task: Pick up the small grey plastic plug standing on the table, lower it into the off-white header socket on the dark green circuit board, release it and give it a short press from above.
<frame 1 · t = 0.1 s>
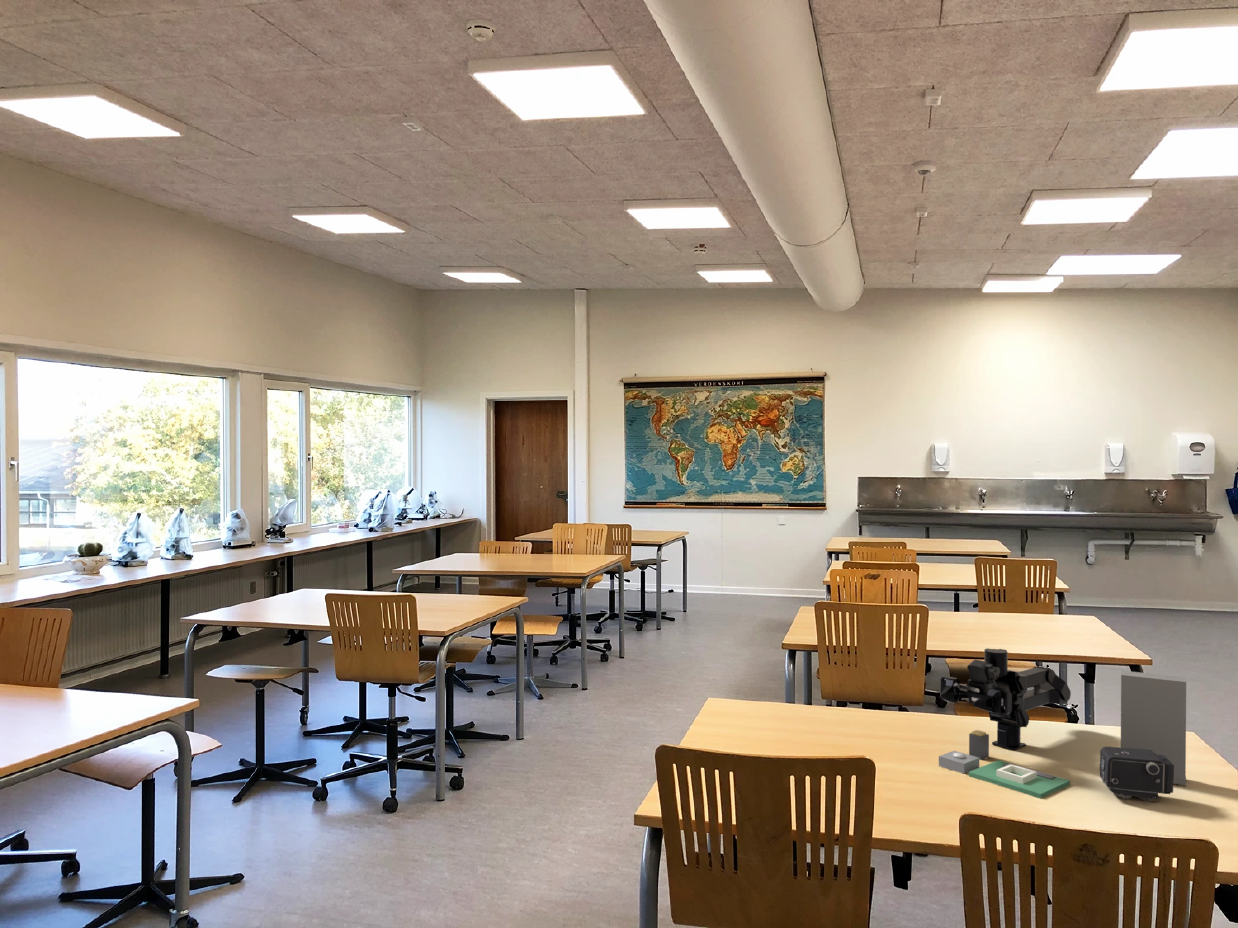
hand: (957, 700, 226), 17 cm above the table, fingers open, 9 cm apart
grey push button: (959, 766, 225), on the table
upright grey panel: (1152, 778, 218), on the table
plug: (978, 756, 233), on the table
camera: (1135, 798, 206), on the table
board: (1018, 780, 216), on the table
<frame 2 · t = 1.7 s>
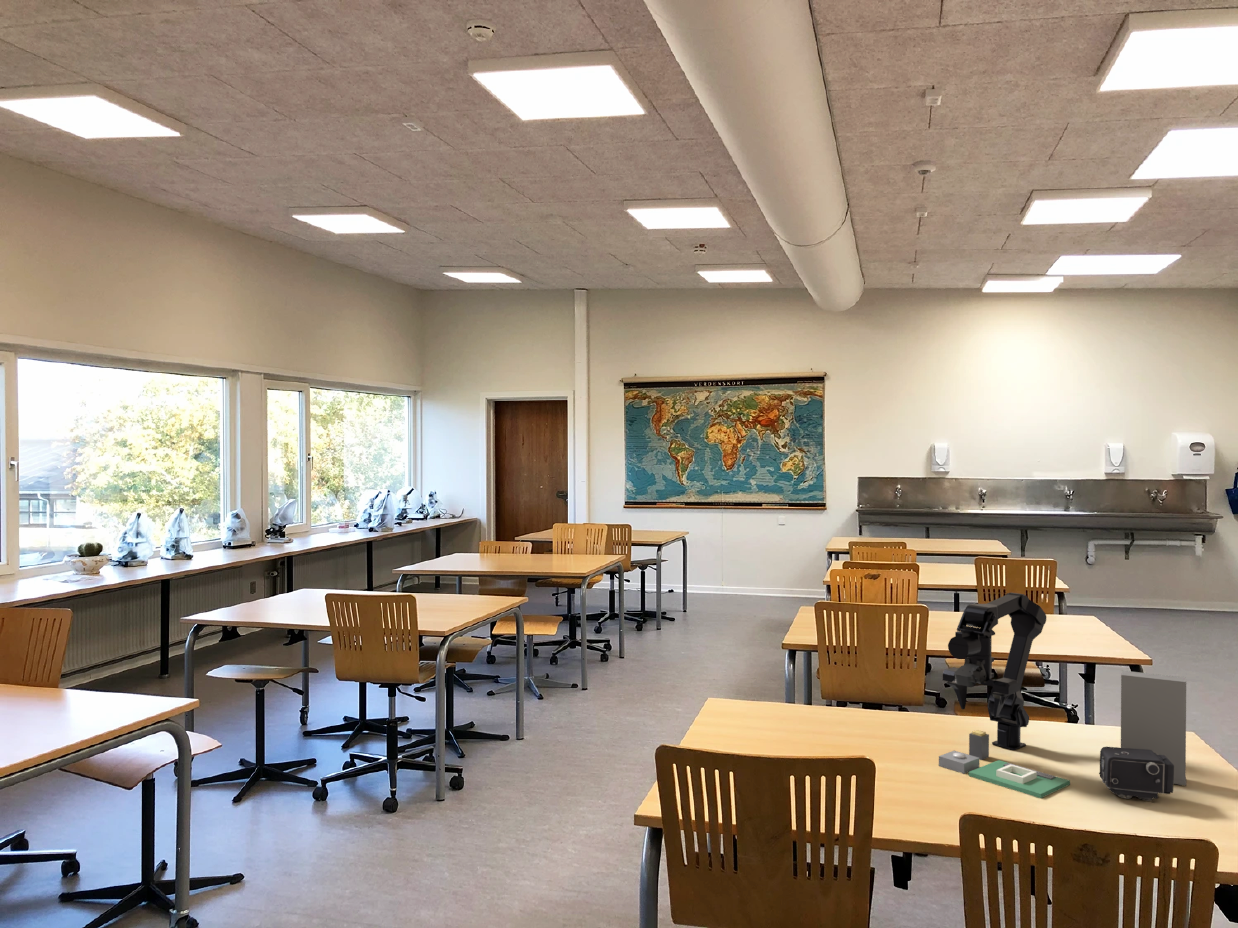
hand: (979, 713, 233), 11 cm above the table, fingers open, 9 cm apart
nothing on the table moved.
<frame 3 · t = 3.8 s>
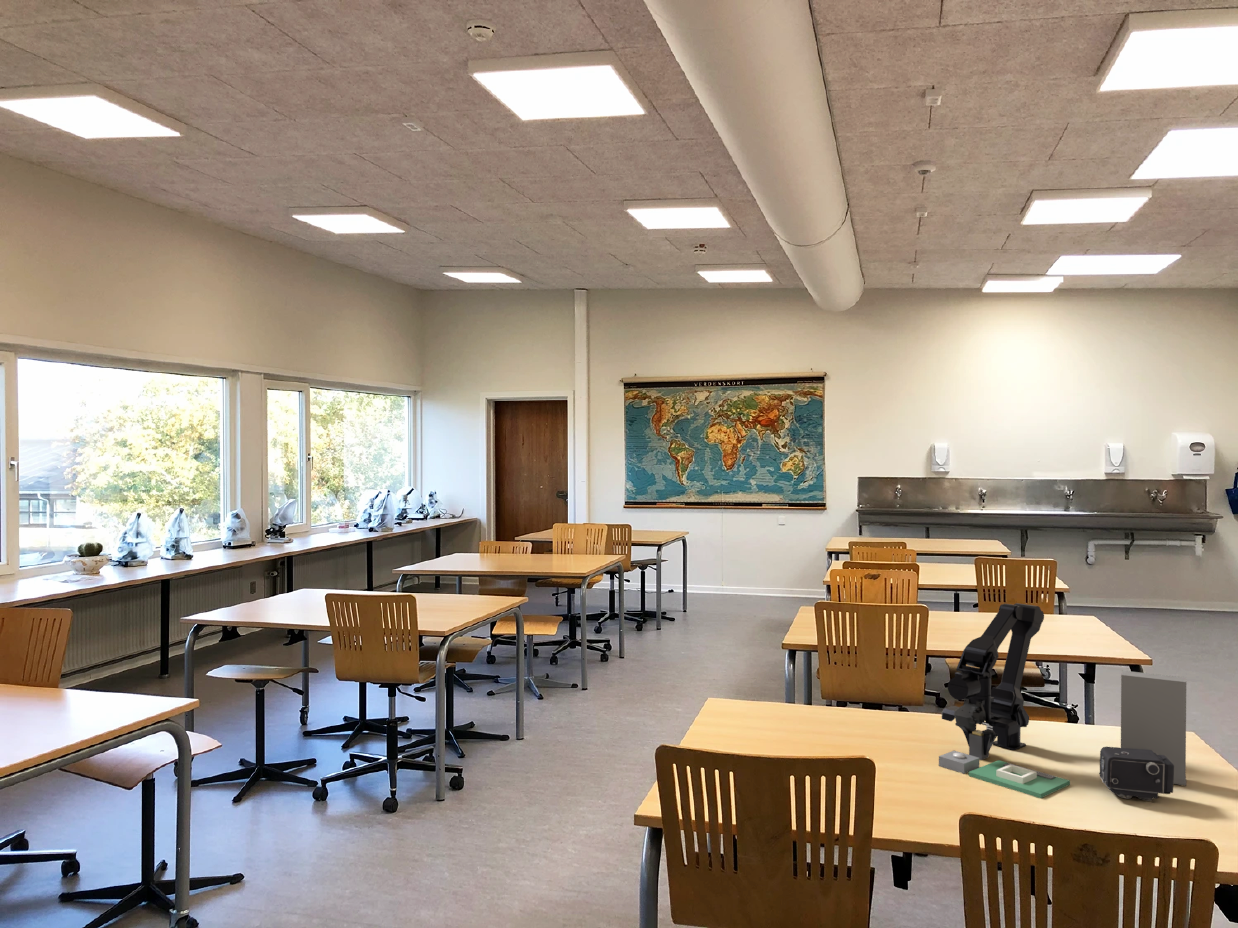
hand: (978, 752, 233), 1 cm above the table, fingers closed on plug, 3 cm apart
plug: (978, 756, 233), on the table, touching gripper
everything else where it was.
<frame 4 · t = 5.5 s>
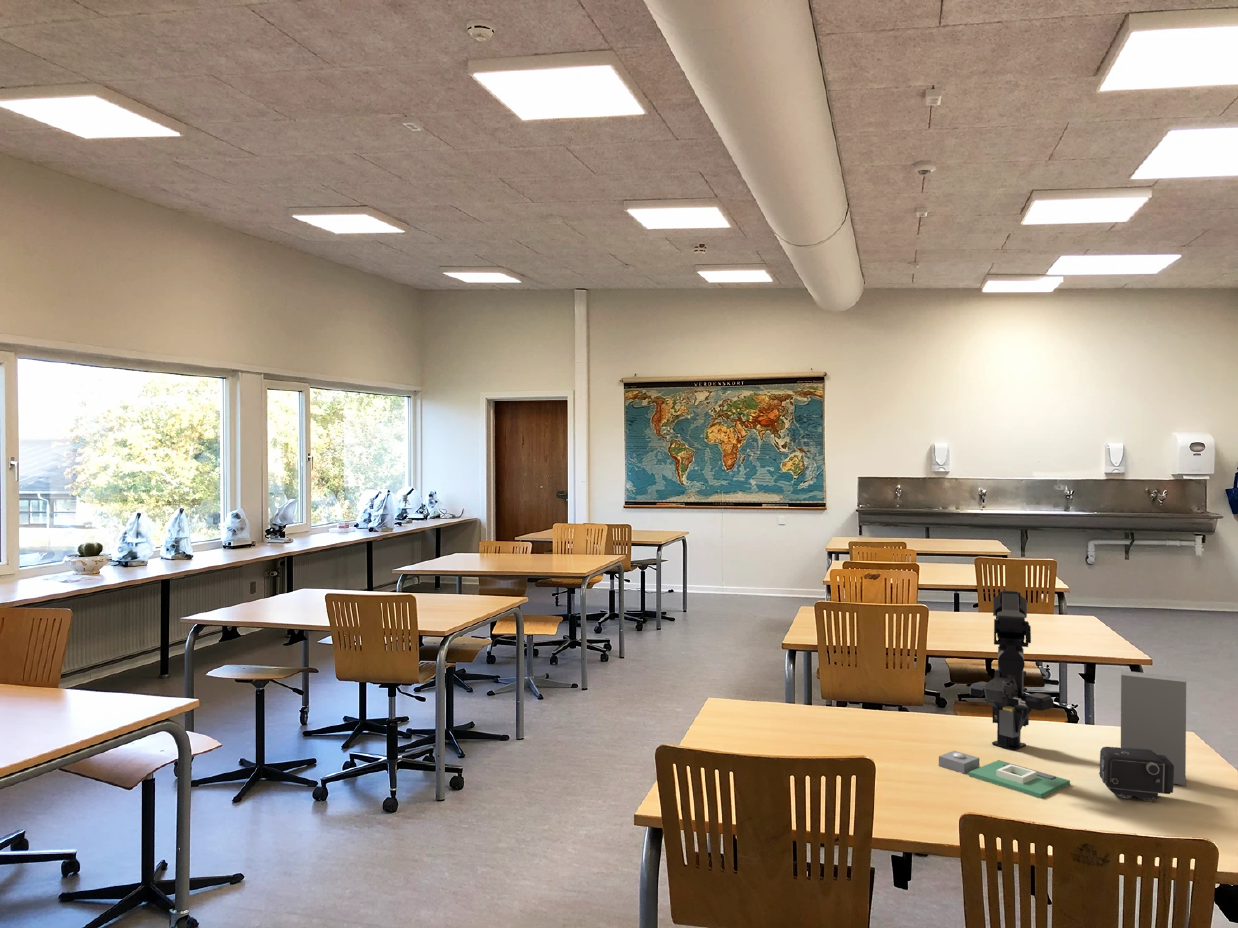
hand: (1010, 730, 218), 12 cm above the table, fingers closed on plug, 3 cm apart
plug: (1009, 734, 218), point 11 cm above the table, touching gripper
everything else where it was.
when the fingers open (3 cm above the table, at t = 7.5 s): plug stays where it is, resting on board.
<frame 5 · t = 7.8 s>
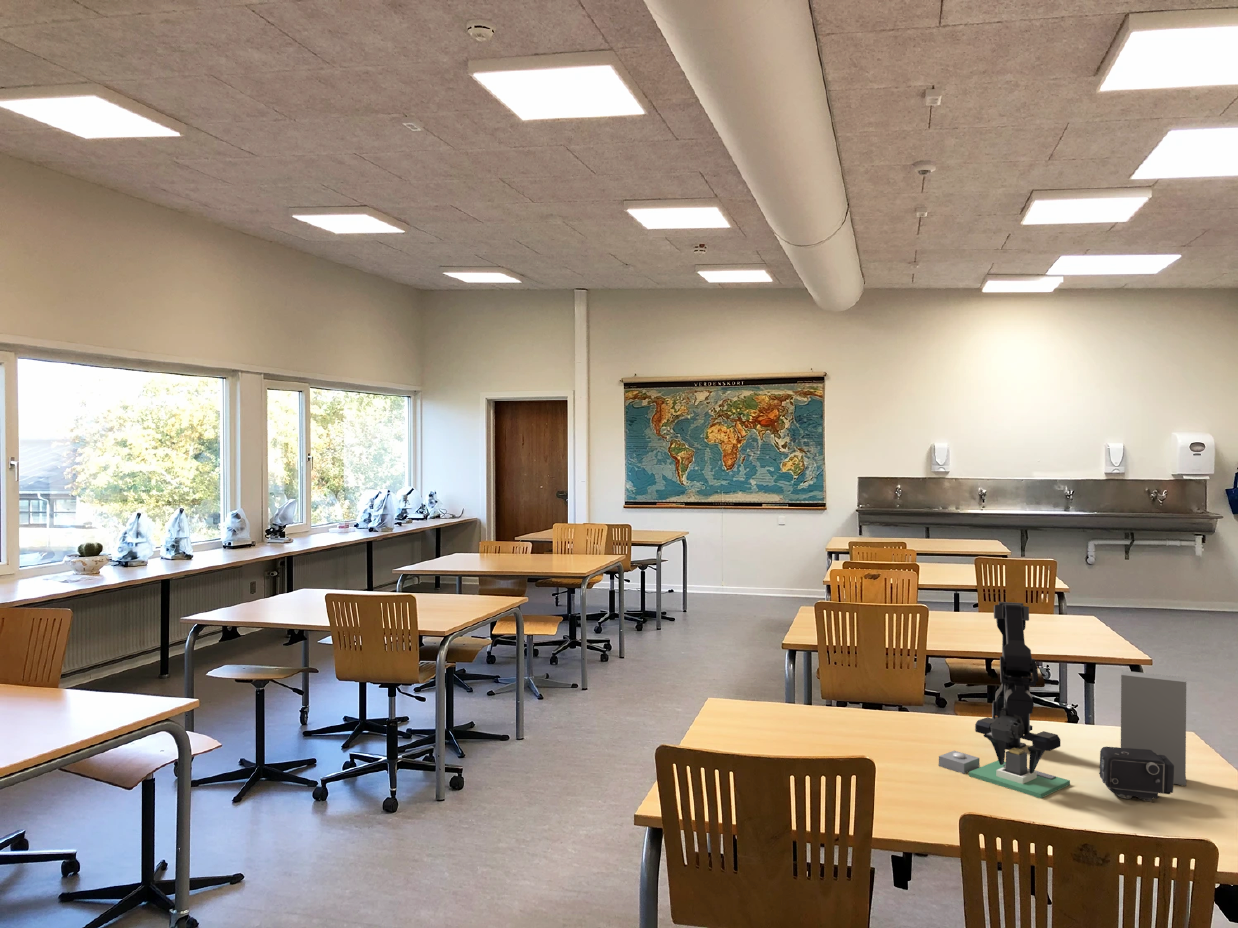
hand: (1016, 768, 216), 3 cm above the table, fingers open, 7 cm apart
plug: (1016, 776, 216), point 1 cm above the table, touching board
everything else where it was.
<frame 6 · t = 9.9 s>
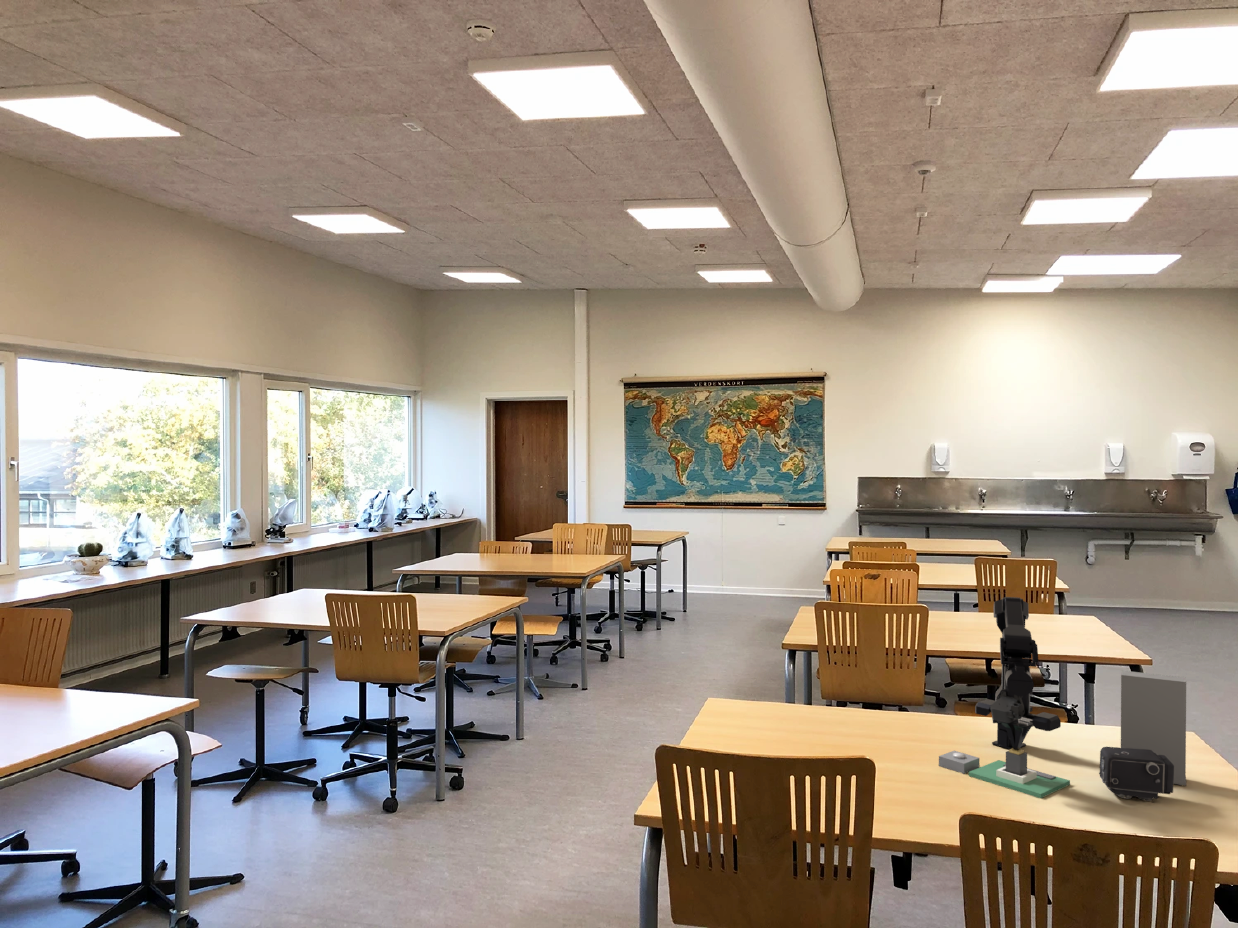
hand: (1016, 749, 216), 8 cm above the table, fingers closed, pressing on plug
plug: (1016, 776, 216), point 1 cm above the table, touching board, gripper
everything else where it was.
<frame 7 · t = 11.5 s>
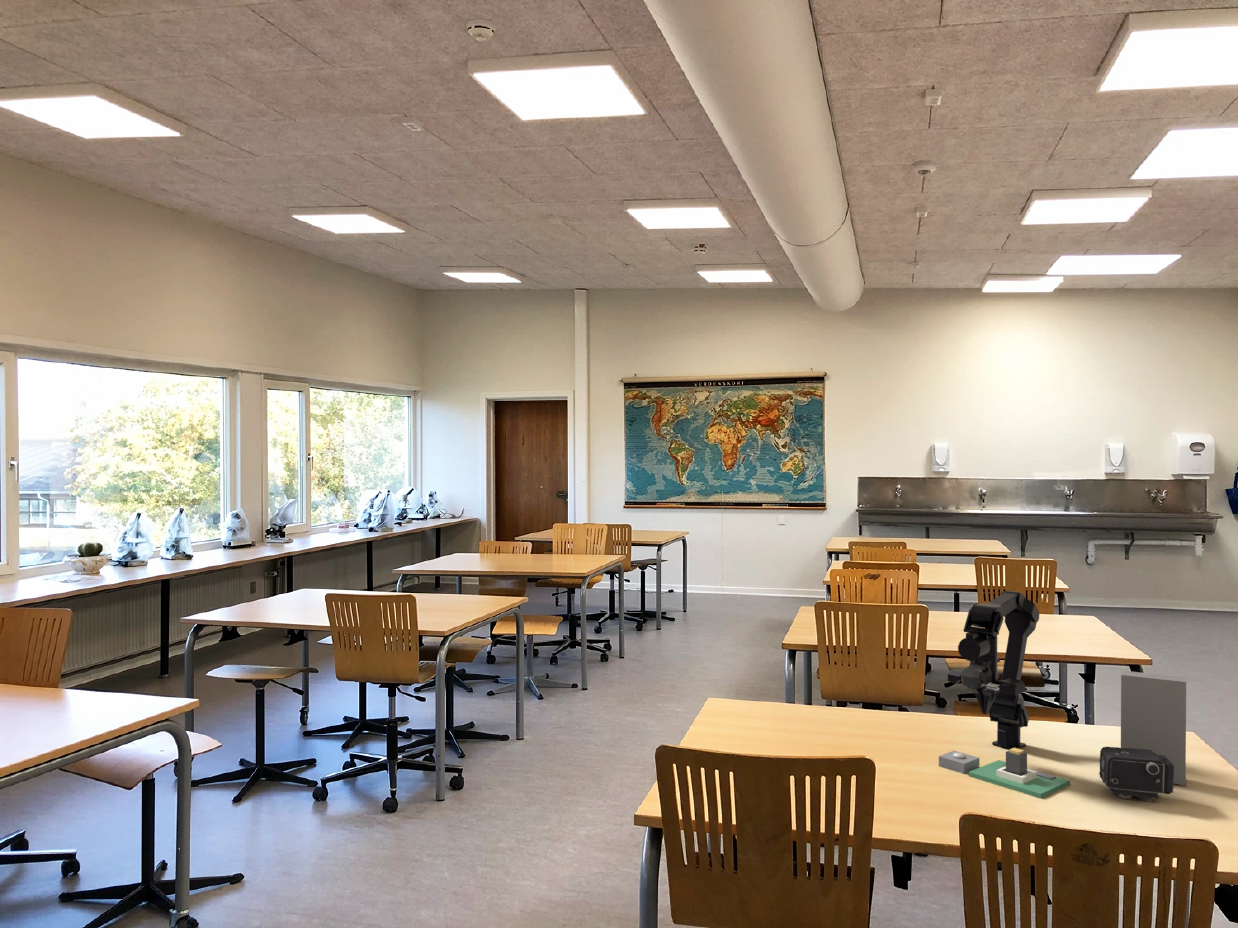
hand: (985, 714, 230), 12 cm above the table, fingers closed
plug: (1016, 776, 216), point 1 cm above the table, touching board
everything else where it was.
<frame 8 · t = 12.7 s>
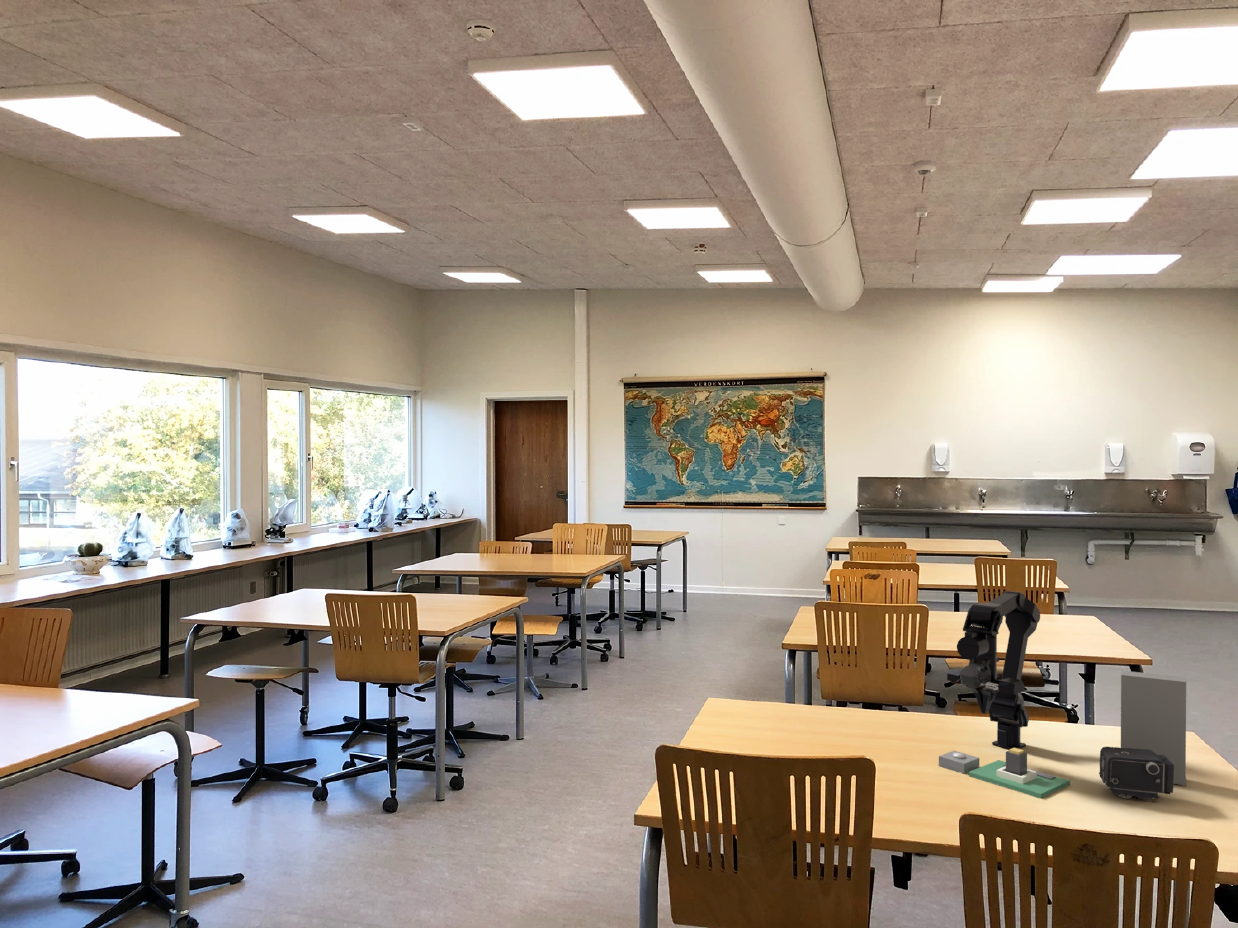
hand: (984, 713, 231), 12 cm above the table, fingers closed
nothing on the table moved.
at the end: plug 0.1 cm from the target spot on the board, point 1.0 cm above the board's base; plug tilted 0°; the gripper is holding nothing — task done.
